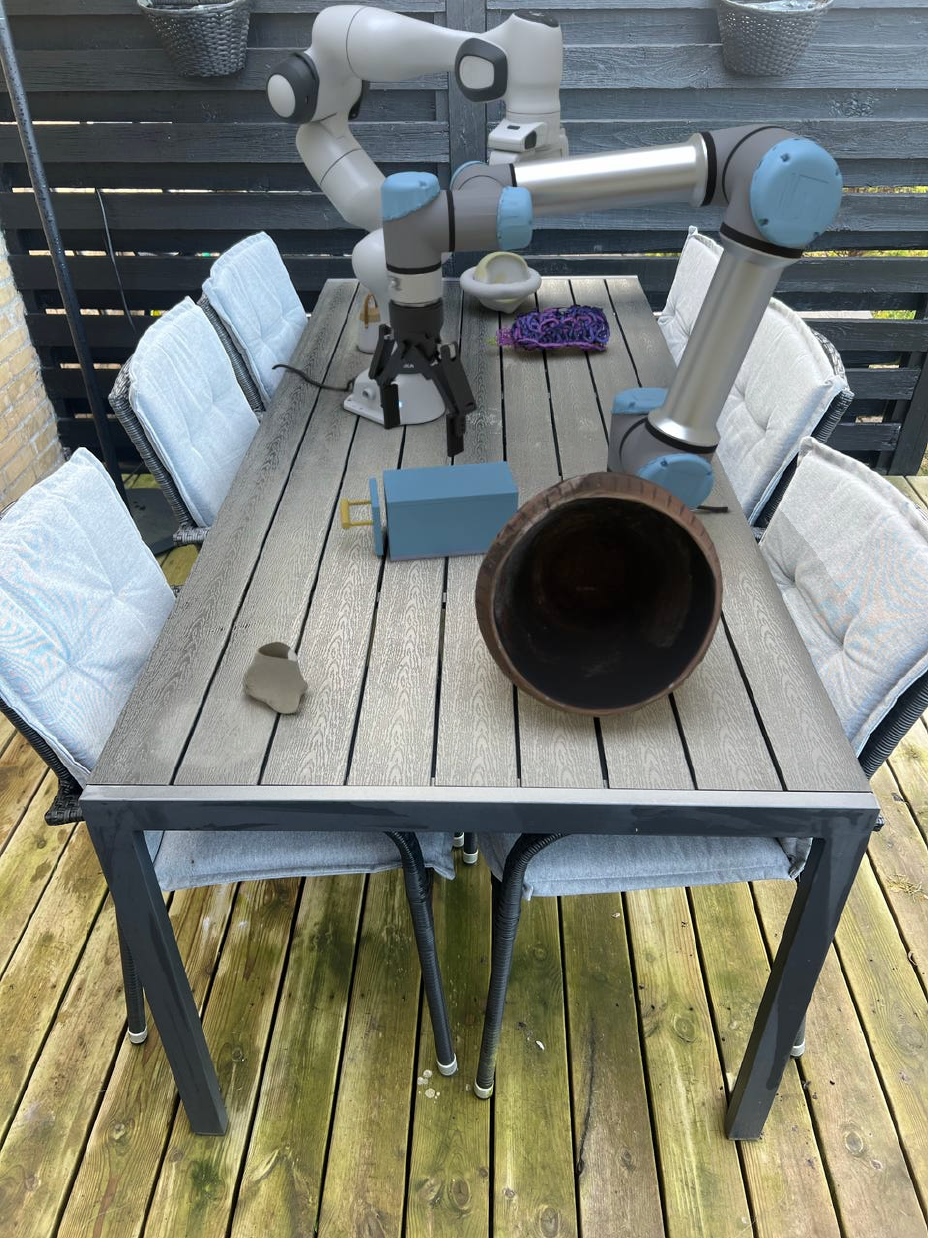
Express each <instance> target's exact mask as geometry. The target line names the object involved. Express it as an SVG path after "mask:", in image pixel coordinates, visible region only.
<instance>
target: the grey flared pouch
mask: <svg viewBox="0 0 928 1238" xmlns="http://www.w3.org/2000/svg"><path fill="white" fill-rule="evenodd" d="M297 655H298V654H296V652H295V651H294V649H292V647H291V646H290V645H288V644H286V643H285V642H281V641H274V642H269V643H266V644H264V645H262V646H260V647H259V648H258V649H257V651H256V653H255V654H254V656H253V659H252V660H251V663H250V664H249V665H248V667H247V669H246V670H245V672H244V674H243V677H242V681H241V685H242V693H243V694H244V695H248V696H251V697H253V698H254V699H256V700H258V701H262V702H264V703H266V704H267V705H268V706H269V707H270V708H272V709H273V710H274V711H275V712H277V713H280V714H283V715H286V714H295V713H296V712H297V711H298V708H299V705H300V699H301V697H302V696H303V694H304V693H305V692H306V691H308V689H309V682H308V681H307V680H305V679H304V677H303V675H302V673H301V672H302V671H301V668H300V665H299V659H298V656H297Z"/></svg>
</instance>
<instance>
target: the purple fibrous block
mask: <svg viewBox="0 0 928 1238" xmlns="http://www.w3.org/2000/svg"><path fill="white" fill-rule="evenodd" d="M538 308H539V307H538V306H535V307H533V308H532V309H530V311H529V312H520V313H519V314H517V315H516V317H515V318H514V319H513V320H514V322H513V323H512V325H511V326H510V327H508V323H507V322H506V323H505V324H504V325H503V327H501V328H500V329H498V330H496V332H495V335H493V336H492V337H490V338H487V339H486V342H487V345H488V346H489V347H490V346H491V348H493V347H496V348H500V347H502V348H501V350H503V349H504V347H507V346H508V347H507V349H508V348H510V347H512V348H513V353H516V352H517V351H518V349H523V350H524V351H526V352H531V353H532V352H536V351H537V350H538V351H539V352H541V351H545V349H548V350H551V351H552V353H553V354H555V350H556V348H562V349H567V348H572V347H578V348H579V349H580V352H591V351H597V352H600V353H602V351H605V352H606V346H607V345H608V344H607V342H608V341H609V340H610V337H611V332H610V324H609V322H608V320H607V316H606V314H605V313H604V308H603V307H601V308H600V307H597V306H591V305H586V304H584V305H581V304H578V303H574V304H571V305H570V306H562V307H561V306H560V307H558V306H557V307H550V308H546V309H544V310H541V311H540V312H538ZM562 309H566V310H564V311H563V310H562ZM561 310H562V311H561Z"/></svg>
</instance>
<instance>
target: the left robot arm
mask: <svg viewBox="0 0 928 1238" xmlns="http://www.w3.org/2000/svg"><path fill="white" fill-rule="evenodd" d="M563 65H564V42H563V33H562V27H561V24H560V22H559V20H558V19H557V18H556V17H555V16H553V15H552V14H550V13H548V12H544V11H540V10H532V9H519V10H516V11H514V12H513V13H512V14H511V15H509V17H508V19H506V20H505V21H504V22H503V23H500V25H498V26H496V27H494V28H492V29H489V30H487V31H484V32H477V31H471V30H465V29H464V30H463V29H456V28H449V27H444V26H441V25H437V24H433V23H431V22H428V21H423V20H420V19H417V18H413V17H410V16H407V15H404V14H400V13H398V12H394V11H391V10H387V9H384V8H379V7H376V6H375V7H374V6H369V5H361V4H339V5H332V6H328V7H325V8H324V9H323V10H321V11H320V12H319V13H318V14H317V16H316V18H315V20H314V22H313V26H312V30H311V45H310V47H309V48H308V49H306V50H305V51H301V50H299V49H296V50H294V51H293V52H291V53H290V54H289V55H287V56H286V57H285V58H283V59H281V60H280V61H279V62H277V63H276V64H275V65H274V66H273V67H272V68H271V69H270V70H269V72H268V73H267V76H266V79H265V93H266V98H267V102H268V105H269V107H270V109H271V111H272V112H273V114H274V115H275V116H276V117H277V119H278V120H280V121H282V122H283V123H285V124H288V125H295V126H296V125H297V126H298V125H299V127H298V130H297V132H296V136H295V146H296V149H297V152H298V154H299V156H300V157H301V159H302V162H303V163H304V165H305V167H306V169H307V171H308V173H310V175H311V177H312V178H313V179H314V181H315V183H316V184H317V186H318V187H319V188H320V190H321V191H322V192H323V194H324V195H325V196H326V197H327V199H328V200H329V201H330V203H331V205H333V206H334V208H335V209H336V210H337V212H338V213H339V214H340V215H341V217H342V218H343V219H344V221H346V222H347V223H349V224H350V225H353V226H355V227H359V228H361V229H364V230H365V231H366V232H369V234H367V236H366V235H365V237H363V238H362V239H361V240H360V241H359V242H357V244H356V245H355V246H354V248H353V250H352V254H351V265H352V266H351V267H352V270H353V273H354V275H355V277H356V279H357V280H358V282H359V283H360V284H361V285H362V286H363V287H364V288H366V289H367V290H369V292H371V294H373V295H372V297H373V296H374V298H375V300H376V302H377V305H378V308H379V312H380V318H381V324H384V323H386V322H389V321H390V319H389V305H388V303H389V301H390V300H391V299H390V298H389V296H388V287H387V273H386V260H385V248H384V237H383V225H382V202H381V186H382V184H383V182H384V180H385V179H386V178H387V177H385V175H384V173H382V171H381V170H380V169H379V168H378V166H377V165H376V164H375V163H374V161H373V160H372V159H371V157H370V156H369V155H368V153H367V152H366V151H365V149H364V148H363V147H362V146H361V144H360V143H359V142H358V141H357V139H356V138H355V136H354V135H353V133H352V132H351V129H350V127H349V121H353V120H356V119H357V118H358V117H359V115H360V113H361V108H362V106H363V104H364V102H365V101H366V99H367V97H368V94H369V92H370V88H371V82H372V83H393V82H401V81H405V80H411V79H414V78H418V77H422V76H427V75H432V74H438V73H443V72H446V73H447V72H452V73H453V72H454V77H455V82H456V85H457V87H458V89H459V90H460V92H461V94H462V95H463V96H464V97H465V98H466V99H467V100H469V101H470V102H472V103H479V104H488V103H492V102H497V101H503V102H504V103H505V117H504V118H502V120H501V122H500V123H499V124H498V125H497V126H495V128H494V129H493V130H492V131H491V132H490V133H489V134H488V139H487V140H488V143H487V145H488V147H489V149H493V150H492V151H491V153H490V155H489V161H488V165H497V164H509V163H515V162H523V161H532V160H540V159H548V158H557V157H565V156H570V148H569V147H570V146H569V140H568V137H567V136H566V128H564V125H563V123H562V122H561V110H562V109H561V108H562V107H561V101H560V100H561V99H560V89H561V84H562V81H563V71H564V69H563V67H564V66H563ZM453 253H454V252H444V253H442V254H441V260H442V265H444V264H445V263H446V261H447V260H449V259H450V258H451V256H452V255H453ZM374 298H373V299H374ZM396 348H397V343H396V341H395V344H394V347H393V351H392V354H393V353H394V351H395V350H396ZM372 352H375V350H374V351H372ZM392 354H391V357H390V360H391V358H392ZM373 356H374V353H372V357H373ZM390 360H389V361H390ZM435 364H437V361H436V360H435V362H434V363H433V364H432V365H431V366H433V365H435ZM278 368H284V369H288V370H289V371H293V372H295V373H298V374H300V375H301V376H302V377H303V378H304V379H305V381H307V382H308V383H310V384H313V385H315V386H317V387H319V388H323V389H325V390H330V391H331V390H332V391H340V392H347V391H349V390H350V388H351V387H352V393H350V394H349V395H348V396H347V397H346V398H345V400H344V401H343V409H345V410H347V411H349V412H352V413H353V414H356V415H358V416H361V417H363V418H366V419H369V420H371V421H373V422H375V423H378V424H381V425H383V426H384V416H383V406H382V405H381V401H380V389H379V386H378V385H377V382H376V381H375V380H374V379H373V380H371V379H370V378H369V377H368V373H369V369H370V366H369V367H367V368H366V369H365V370H362V372H361V373H360V374H357V375H356V376H353V377H352V378H351V379H349V380H348V381H347V382H346V386H345V387H342V388H335V387H331V386H328V385H326V384H323V383H321V382H318V381H316V380H314V379H311V378H310V377H309V376H308V375H307V374H306V373H305V372H304V371H302V370H300V369H298V368H295V367H293V366H290V365H288V364H283V363H278V364H275V365H272V368H271V370H272V371H274V370H276V369H278ZM395 380H396V381H394V382H392V383H391V385H392V384H394V383H395V384H398V393H399V408H400V422H401V424H400V425H399V426H403V425H415V424H423V423H428V422H431V421H433V420H436V419H438V418H440V417H441V416H442V415H443V414H444V413H445V411H446V405H445V403H444V401H443V399H442V397H441V395H440V394H439V392H438V390H437V388H436V386H435V384H434V383H433V381H432V379H431V377H430V376H429V375H427V374H426V373H425V372H424V370H423V368H419V367H417V366H416V365H414V364H408V363H406V364H405V365H404V367H403V368H402V370H401V371H400V373H399V374H398V376H397V377H396V379H395Z"/></svg>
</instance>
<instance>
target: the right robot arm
mask: <svg viewBox="0 0 928 1238" xmlns="http://www.w3.org/2000/svg"><path fill="white" fill-rule="evenodd" d="M453 173H454V174H453V175H452V177H451V180H450V185H449V190H446V189H441V186H440V182H439V179H438V177H437V176H436V175H435V174H433V173H430V172H426V171H421V172H420V171H419V172H417V171H403V172H397V173H393V174H391V175H389V176H387V177H385V178H386V179H385V180H384V182H383V184H382V186H381V202H382V225H383V237H384V248H385V260H386V273H387V287H388V296H389V298H390V299H391V300H390V301H389V303H388V305H389V319H390V321H389V322H386V323H384V324H381V325H379V339H378V342H377V346H376V349H375V352H374V353H373V354H374V356H373V355H372V359H371V362H370V365H369V367H370V369H369V373H368V377H369V378H370V379H371V380H373V379H374V380H375V381H376V382H377V385H378V386H379V389H380V401H381V405H382V406H383V416H384V425H383V427H384V430H386V431H389V430H391V429H395V428H396V427H398V426H401V425H400V424H401V422H400V408H399V393H398V384H395V383H394V384H392V385H391V383H392V382H394V381H396V380H395V379H396V377H397V376H398V374H399V373H400V371H401V370H402V368H403V367H404V365H405V364H406V363H408V364H414V365H416V366H417V367H419V368H423V370H424V372H425V373H426V374H427V375H429V376H430V377H431V379H432V381H433V383H434V384H435V386H436V388H437V390H438V392H439V394H440V395H441V397H442V400H443V403H444V406H445V407H446V408H447V410H448V412H449V413H446V414H445V427H446V429H445V431H446V432H445V433H446V457H448V458H451V459H452V458H453V457H455V456H458V455H459V454H461V453H463V452H464V451H465V444H464V443H465V441H464V439H465V438H464V435H466V432H467V415H469V414H471V413H473V412H475V411H477V410H478V405H477V402H476V399H475V396H474V393H473V391H472V388H471V385H470V383H469V380H468V377H467V374H466V372H465V371H466V370H465V368H464V365H463V362H462V360H461V355H460V347H459V346H460V345H459V343H458V342H457V341H456V340H453V341H450V342H444V341H443V340H442V338H441V330H442V327H443V326H444V323H445V317H444V316H445V314H444V313H445V312H444V300H443V298H441V297H442V296H443V294H444V286H443V283H444V282H443V264H442V260H441V254H442V253H444V252H453V253H468V252H469V253H470V252H499V251H500V252H508V251H511V250H519V249H524V248H526V247H528V246H529V245H530V243H531V241H532V236H533V224H534V223H533V222H534V219H539V218H547V217H556V216H564V215H574V214H583V213H590V212H599V211H608V210H618V209H627V208H635V207H642V206H643V207H644V206H652V205H653V206H654V205H660V204H669V203H677V202H685V201H686V202H688V203H689V204H690V205H691V206H692V207H693V208H702V207H720V208H721V207H722V208H727V209H726V212H725V214H724V217H723V219H722V221H721V225H720V227H719V230H718V235H719V238H720V240H721V243H722V245H723V250H722V252H721V255H720V257H719V260H718V263H717V266H716V268H715V270H714V272H713V275H712V278H711V281H710V283H709V286H708V289H707V291H706V293H705V296H704V298H703V301H702V303H701V307H700V309H699V311H698V314H697V317H696V319H695V321H694V324H693V327H692V329H691V332H690V334H689V337H688V340H687V342H686V345H685V347H684V349H683V352H682V355H681V357H680V360H679V363H678V365H677V368H676V370H675V373H674V375H673V378H672V380H671V383H670V385H669V388H668V389H667V388H661V387H633V388H628V389H625V390H623V391H621V392H618V393H617V395H615V397H614V398H613V402H612V407H611V410H610V414H611V418H610V428H609V440H608V450H607V461H606V471H605V472H621V473H627V474H633V475H636V476H639V477H641V478H644V479H646V480H649V481H651V482H654V483H655V484H657V485H659V486H661V487H663V488H665V489H666V490H668V491H669V492H671V493H672V494H674V495H675V496H676V497H678V498H679V499H680V500H681V501H682V502H683V503H684V504H685V505H686V506H687V507H688V508H689V509H690V510H691V511H694V510H695V509H696V510H702V511H709V512H710V511H711V512H726V511H729V506H728V505H727V506H709V505H702V504H703V503H705V502H706V500H707V499H708V498H709V496H710V495H711V493H712V491H713V488H714V486H715V485H714V484H715V475H714V474H715V473H714V472H715V471H714V469H713V467H712V465H711V462H712V460H713V458H714V456H715V454H716V452H717V449H718V447H719V445H720V442H721V438H722V437H721V434H720V431H719V429H718V427H717V423H718V421H719V418H720V416H721V414H722V412H723V409H724V406H725V405H726V403H727V400H728V398H729V395H730V393H731V391H732V388H733V387H734V384H735V382H736V379H737V378H738V375H739V373H740V370H741V368H742V365H743V363H744V361H745V359H746V356H747V354H748V352H749V349H750V347H751V345H752V343H753V340H754V338H755V335H756V333H757V331H758V329H759V327H760V324H761V322H762V320H763V318H764V315H765V313H766V310H767V308H768V306H769V304H770V301H771V299H772V296H773V294H774V292H775V290H776V287H777V285H778V283H779V280H780V278H781V276H782V275H783V271H784V270H785V269H786V268H788V267H789V266H791V265H793V264H795V263H797V262H799V261H800V260H801V258H802V257H803V254H804V252H805V249H806V247H807V245H808V244H809V243H811V242H813V241H814V239H816V238H817V237H818V236H819V237H820V236H822V235H823V234H824V233H825V232H826V231H827V230H828V228H829V227H830V226H831V225H832V222H833V221H834V220H835V218H836V216H837V214H838V213H839V210H840V207H841V204H842V198H843V192H844V191H843V190H844V189H843V188H844V185H843V183H844V182H843V177H842V173H841V171H840V167H839V165H838V163H837V162H836V160H835V159H834V157H833V156H832V155H831V154H830V153H829V152H828V151H827V150H826V149H825V148H824V147H822V146H821V145H820V144H819V143H818V142H816V141H813V140H811V139H809V138H806V137H804V136H802V135H800V134H797V133H795V132H792V130H790V129H788V128H786V127H784V126H780V125H778V124H775V123H774V124H773V123H756V124H748V125H741V126H734V127H727V128H721V129H714V130H709V131H699V132H694V133H693V134H692V135H691V136H690V137H689V139H688V140H687V141H683V142H676V143H668V144H659V145H651V146H642V147H634V148H626V149H617V150H608V151H601V152H593V153H592V152H591V153H583V154H574V155H569V156H565V157H557V158H548V159H540V160H532V161H523V162H515V163H509V164H497V165H489V163H487V162H483V161H481V160H470V161H468V162H465V163H463V164H462V165H460V166H459V167H458V168H457V169H456V171H455V172H453ZM395 341H396V343H397V348H396V350H395V351H394V353H393V354H392V351H393V347H394V344H395ZM391 354H392V358H391V360H390V357H391ZM389 360H390V361H389ZM435 360H436V361H437V364H435V365H433V366H431V365H432V364H433V363H434V362H435Z"/></svg>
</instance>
